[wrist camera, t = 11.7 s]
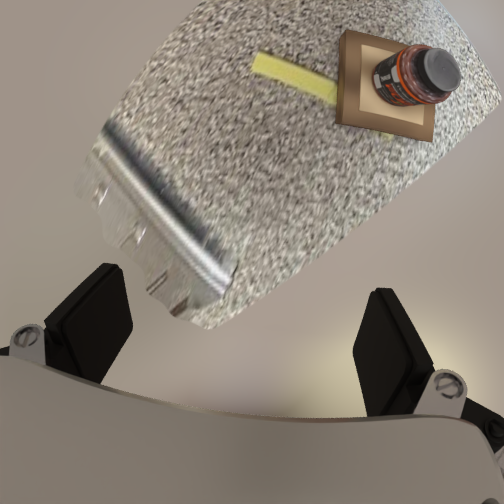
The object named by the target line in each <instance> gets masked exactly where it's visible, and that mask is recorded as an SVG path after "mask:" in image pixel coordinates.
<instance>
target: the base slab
mask: <svg viewBox="0 0 504 504" xmlns="http://www.w3.org/2000/svg"><path fill="white" fill-rule="evenodd" d="M407 47H409V46H408V45H405V44H402V43H399V42H396V41H392V40H389V39H385V38H381V37H378V36H374V35H370V34H365V33H361V32H356V31H352V30H347V29H346V30H345V32H344V33H343V34H342V36H341V37H340V39H339V72H338V92H337V108H336V122H335V124H341V125H348V126H354V127H359V128H365V129H370V130H375V131H380V132H385V133H390V134H394V135H399V136H403V137H407V138H411V139H415V140H420V141H426V142H432V140H433V130H434V117H435V104H428V105H427V104H426V105H415V106H405V107H401V106H394V105H391V104H389V103H387V102H385V101H384V100H383V99H382V98H381V97H380V96H379V95H378V93H377V92H376V90H375V88H374V85H373V77H372V76H373V71H374V69H375V67H376V66H377V64H378V63H380V62H381V61H383V60H384V59H386V58H388V57H390V56H392V55H393V54H395V53H397V52H399V51H401V50H403V49H405V48H407Z"/></svg>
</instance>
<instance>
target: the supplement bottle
mask: <svg viewBox="0 0 504 504" xmlns="http://www.w3.org/2000/svg"><path fill="white" fill-rule="evenodd" d="M372 77H373V85H374V88H375V90H376V92H377V93H378V95H379V96H380V97H381V98H382V99H383V100H384V101H385V102H387V103H389V104H391V105H394V106H401V107H405V106H415V105H426V104H427V105H428V104H436V103H440V102H443V101H445V100H446V99H447V98H448V97H449V96H450V94H451V92H452V91H454V90H456V89H457V88H458V87H459V85H460V82H461V72H460V68H459V66H458V64H457V62H456V60H455V59H454V58H453V56H452V55H451V54H449V53H448V52H447V51H445V50H443V49H441V48H432V47H430V46H427V45H422V44H416V45H412V46H409V47H407V48H405V49H403V50H401V51H399V52H397V53H395V54H393V55H392V56H390V57H388V58H386V59H384V60H383V61H381V62H380V63H378V64H377V66H376V67H375V69H374V71H373V76H372Z"/></svg>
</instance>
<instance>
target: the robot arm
mask: <svg viewBox="0 0 504 504" xmlns="http://www.w3.org/2000/svg"><path fill="white" fill-rule="evenodd" d="M44 322H45V325H46V328H45V329H44V330H43V328H42V327H41V326H39V325H37V324H28V325H25V326H22V327H20V328H19V329H17V330H16V331H15V332H14V333H13V335H12V336H11V340H10V346H8V347H4V348H1V349H0V504H504V418H503V417H501V416H500V415H498V414H496V413H495V412H492V411H491V410H489V409H487V408H485V407H483V406H482V405H480V404H478V403H476V402H474V401H472V400H471V399H469V398H467V397H466V395H467V386H466V383H465V381H464V380H463V378H462V377H461V376H460V375H459V374H457V373H455V372H453V371H451V370H448V369H440V370H437V371H435V369H434V367H433V361H432V359H431V357H430V355H429V354H428V351H427V350H426V348H425V346H424V344H423V342H422V340H421V338H420V336H419V335H418V333H417V331H416V329H415V327H414V325H413V324H412V322H411V320H410V318H409V317H408V315H407V313H406V311H405V309H404V308H403V306H402V304H401V303H400V301H399V299H398V298H397V296H396V294H395V293H394V291H393V289H391V288H376V290H375V291H372V292H371V293H370V296H369V299H368V303H367V306H366V310H365V313H364V316H363V319H362V322H361V325H360V329H359V331H358V334H357V337H356V340H355V343H354V346H353V357H354V361H355V365H356V369H357V373H358V378H359V382H360V386H361V390H362V394H363V399H364V403H365V408H366V412H367V417H353V418H294V417H275V416H261V415H250V414H240V413H232V412H224V411H217V410H209V409H204V408H197V407H192V406H186V405H180V404H175V403H171V402H166V401H161V400H157V399H153V398H148V397H144V396H140V395H136V394H132V393H129V392H124V391H121V390H118V389H114V388H111V387H108V386H104V385H101V384H100V383H101V382H102V380H103V378H104V376H105V375H106V373H107V372H108V370H109V368H110V367H111V365H112V363H113V362H114V360H115V358H116V357H117V355H118V353H119V352H120V350H121V348H122V347H123V345H124V343H125V342H126V340H127V339H128V337H129V336H130V334H131V332H132V329H133V322H132V318H131V313H130V308H129V304H128V299H127V293H126V288H125V282H124V276H123V271H122V269H120V268H119V266H118V265H117V264H110V263H103V264H101V265H100V266H99V268H97V269H96V270H95V271H94V272H93V273H92V274H91V275H90V276H89V277H87V278H86V279H85V280H84V281H83V282H82V283H81V284H80V285H79V286H78V287H77V288H76V289H75V290H74V291H73V292H72V293H71V294H70V295H69V296H68V297H67V298H66V299H65V300H64V301H63V302H62V303H61V304H60V305H59V306H58V307H57V308H56V309H55V310H54V311H53V312H52V313H51V314H50V315H49V316H48V317H47V318H46V319H45V320H44Z"/></svg>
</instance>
